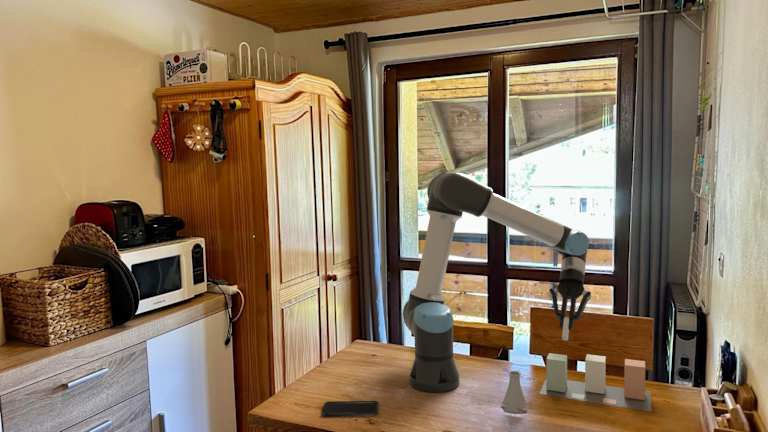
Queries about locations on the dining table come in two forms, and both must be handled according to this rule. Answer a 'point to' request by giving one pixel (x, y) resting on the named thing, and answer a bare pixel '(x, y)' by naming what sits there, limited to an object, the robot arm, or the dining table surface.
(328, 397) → the dining table surface
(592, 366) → the cream tall block
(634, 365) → the pink tall block
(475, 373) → the dining table surface
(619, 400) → the grey board
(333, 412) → the phone
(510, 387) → the flask
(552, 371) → the pale green tall block
